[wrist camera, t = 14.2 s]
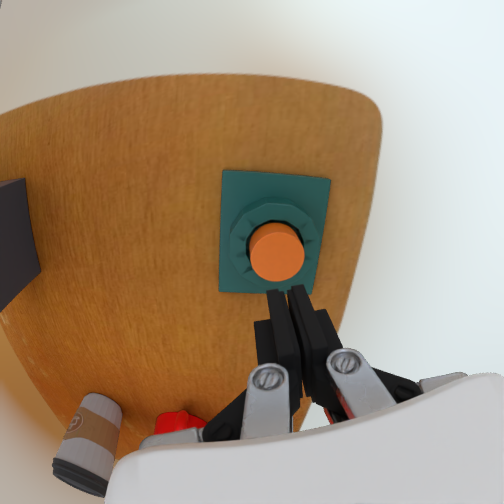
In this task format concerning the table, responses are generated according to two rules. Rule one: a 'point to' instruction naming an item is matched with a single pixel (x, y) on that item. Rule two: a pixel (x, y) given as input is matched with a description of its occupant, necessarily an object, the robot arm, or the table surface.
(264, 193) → the push button base
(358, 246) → the table surface
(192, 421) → the mug
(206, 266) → the table surface
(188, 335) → the table surface
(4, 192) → the tall knob tower
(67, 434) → the coffee cup
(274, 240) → the button
